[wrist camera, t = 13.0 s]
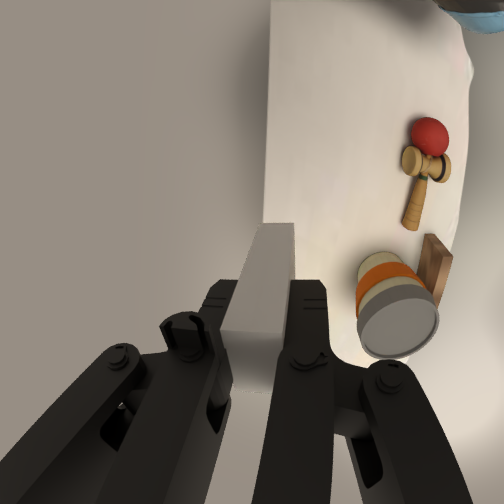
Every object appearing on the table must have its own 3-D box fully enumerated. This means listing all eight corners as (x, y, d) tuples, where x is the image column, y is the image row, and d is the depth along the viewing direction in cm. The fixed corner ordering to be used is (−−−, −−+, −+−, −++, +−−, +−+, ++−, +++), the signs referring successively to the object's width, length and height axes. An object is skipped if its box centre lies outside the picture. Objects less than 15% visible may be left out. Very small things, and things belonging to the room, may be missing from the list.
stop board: (424, 233, 40) (443, 256, 34) (434, 233, 40) (453, 256, 33) (408, 306, 48) (418, 334, 41) (416, 306, 48) (427, 333, 41)
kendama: (427, 221, 41) (450, 122, 30) (434, 240, 36) (464, 130, 25) (387, 212, 43) (406, 109, 32) (390, 230, 38) (414, 114, 27)
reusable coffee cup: (337, 292, 49) (343, 354, 36) (364, 233, 43) (385, 286, 30) (393, 307, 49) (411, 365, 36) (423, 253, 42) (456, 306, 29)
